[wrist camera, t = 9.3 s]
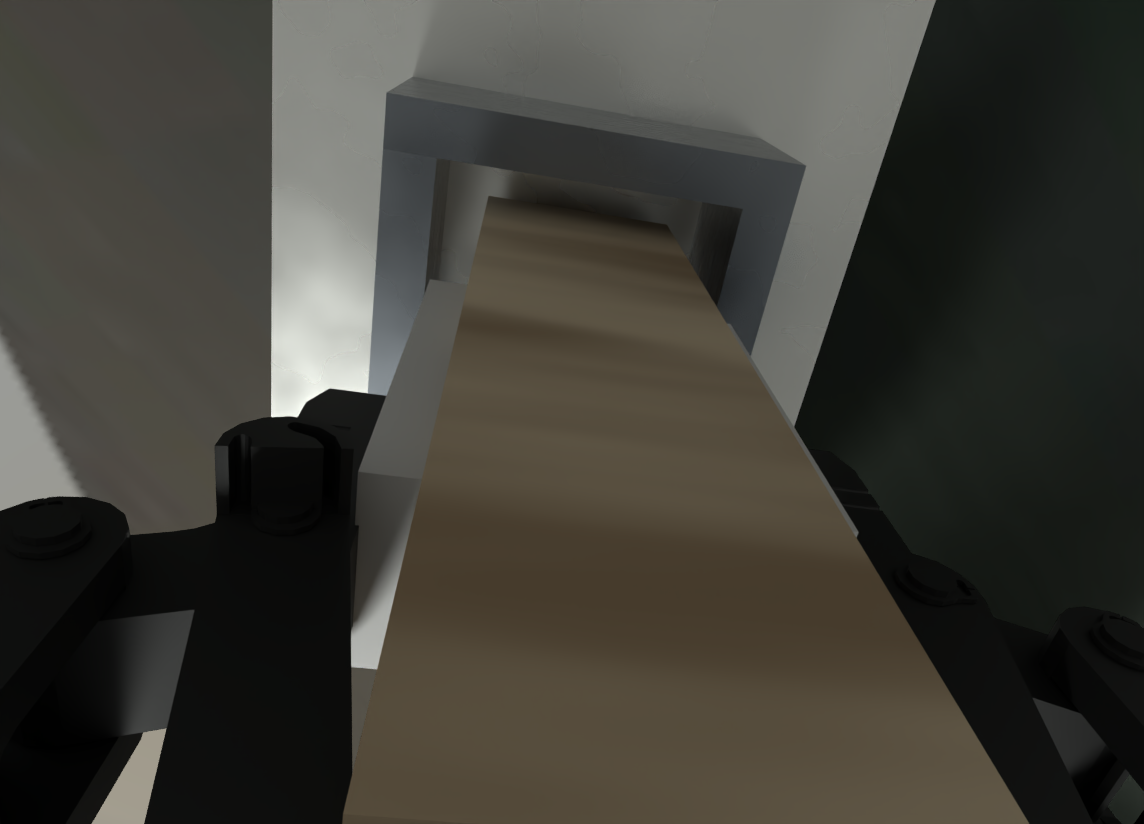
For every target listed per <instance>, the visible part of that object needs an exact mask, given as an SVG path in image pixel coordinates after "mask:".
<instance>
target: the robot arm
mask: <svg viewBox="0 0 1144 824" xmlns="http://www.w3.org/2000/svg"><path fill="white" fill-rule="evenodd" d="M466 290H467V285H465V284H459V283H452V282H445V281H439V280H432V279H430V281H429V284H428V286H427V289H426V292H425V294H424V297H423V300H422V302H421V305H420V308H419V310H418V313H417V316H416V318H415V321H414V324H413V326H412V329H411V332H410V334H409V337H408V340H407V342H406V345H405V348H404V350H403V353H402V356H401V358H400V361H399V364H398V366H397V369H396V372H395V374H394V377H393V380H392V382H391V385H390V388H389V390H388V393H387V396H385V395H377V394H370V393H362V392H355V391H347V390H339V389H332V388H329V389H327V390H326V391H324V392H322V393H321V394H319V395H317V396H316V397H314V398H312V399H310V400H309V401H307V402H306V403H305V405H304V407H303V408H302V410H301V412H300V414H299V415H298V417H292V416H285V417H267V418H261V419H257V420H253V421H249V422H245V423H241V424H239V425H237V426H236V427H234V428H232V429H230V430H228V431H227V432H225V433H223V435H222V436H221V437H220V439H219V440H218V442H217V443H216V445H215V471H216V502H217V517H216V521H215V523H212V524H209V525H205V526H202V527H198V528H194V529H188V530H181V531H174V532H162V533H150V534H139V535H130V532H129V526H128V523H127V520H126V516H125V514H124V513H123V512H121V511H120V510H118V509H117V508H116V507H114V506H113V505H112V504H110V503H107V502H103V501H99V500H95V499H92V498H88V497H49V498H46V499H44V498H42V499H37V500H32V501H28V502H25V503H22V504H19V505H16V506H14V507H11V508H7V509H5V510H2V511H0V824H91V823H92V822H93V820H94V818H95V817H96V815H97V813H98V812H99V810H100V808H101V807H102V805H103V803H104V801H105V799H106V798H107V796H108V795H109V793H110V791H111V789H112V788H113V786H114V784H115V783H116V781H117V779H118V777H119V776H120V774H121V772H122V771H123V769H124V767H125V765H126V764H127V762H128V760H129V758H130V757H131V755H132V753H133V752H134V750H135V748H136V746H137V745H138V743H139V741H140V740H141V737H142V734H143V732H147V731H153V730H159V729H165V728H167V729H166V734H165V738H164V742H163V746H162V750H161V755H160V759H159V763H158V768H157V772H156V776H155V780H154V784H153V789H152V793H151V797H150V802H149V806H148V810H147V815H146V818H145V823H144V824H342V822H343V812H344V808H345V804H346V799H347V795H348V791H349V787H350V782H351V778H352V692H351V667H358V668H369V669H377V668H378V663H379V659H380V655H381V651H382V646H383V642H384V638H385V634H386V629H387V625H388V621H389V617H390V612H391V608H392V604H393V600H394V595H395V591H396V587H397V583H398V578H399V574H400V570H401V566H402V561H403V557H404V553H405V549H406V544H407V540H408V536H409V532H410V527H411V523H412V519H413V515H414V510H415V506H416V502H417V498H418V493H419V489H420V485H421V481H422V476H423V472H424V468H425V464H426V459H427V455H428V451H429V447H430V442H431V438H432V434H433V430H434V426H435V421H436V417H437V413H438V409H439V404H440V400H441V396H442V392H443V387H444V383H445V379H446V375H447V370H448V366H449V362H450V358H451V353H452V349H453V345H454V341H455V336H456V332H457V328H458V324H459V319H460V315H461V311H462V307H463V302H464V298H465V294H466ZM727 325H728V326H729V328H730V330H731V331H732V333H733V335H734V336H735V338H736V340H737V341H738V343H739V345H740V346H741V348H742V350H743V351H744V353H745V355H746V356H747V358H748V360H749V361H750V363H751V364H752V366H753V368H754V369H755V371H756V373H757V374H758V376H759V378H760V379H761V381H762V383H763V384H764V386H765V388H766V389H767V391H768V393H769V394H770V396H771V398H772V399H773V401H774V403H775V404H776V406H777V407H778V409H779V411H780V412H781V414H782V416H783V417H784V419H785V421H786V422H787V424H788V426H789V427H790V429H791V431H792V432H793V434H794V436H795V437H796V439H797V441H798V442H799V444H800V445H801V447H802V449H803V450H804V452H805V454H806V455H807V457H808V459H809V460H810V462H811V464H812V465H813V467H814V469H815V470H816V472H817V474H818V475H819V477H820V479H821V480H822V482H823V484H824V485H825V487H826V488H827V490H828V492H829V493H830V495H831V497H832V498H833V500H834V502H835V503H836V505H837V507H838V508H839V510H840V512H841V513H842V515H843V517H844V518H845V520H846V522H847V523H848V525H849V527H850V528H851V530H852V531H853V533H854V535H855V536H856V538H857V540H858V541H859V543H860V545H861V546H862V548H863V550H864V551H865V553H866V555H867V556H868V558H869V560H870V561H871V563H872V565H873V566H874V568H875V569H876V571H877V573H878V574H879V576H880V578H881V579H882V581H883V583H884V584H885V586H886V588H887V589H888V591H889V593H890V594H891V596H892V598H893V599H894V601H895V603H896V604H897V606H898V608H899V609H900V611H901V612H902V614H903V616H904V617H905V619H906V621H907V622H908V624H909V626H910V627H911V629H912V631H913V632H914V634H915V636H916V637H917V639H918V641H919V642H920V644H921V646H922V647H923V649H924V650H925V652H926V654H927V655H928V657H929V659H930V660H931V662H932V664H933V665H934V667H935V669H936V670H937V672H938V674H939V675H940V677H941V679H942V680H943V682H944V684H945V685H946V687H947V689H948V690H949V692H950V693H951V695H952V697H953V698H954V700H955V702H956V703H957V705H958V707H959V708H960V710H961V712H962V713H963V715H964V717H965V718H966V720H967V722H968V723H969V725H970V727H971V728H972V730H973V732H974V733H975V735H976V736H977V738H978V740H979V741H980V743H981V745H982V746H983V748H984V750H985V751H986V753H987V755H988V756H989V758H990V760H991V761H992V763H993V765H994V766H995V768H996V770H997V771H998V773H999V774H1000V776H1001V778H1002V779H1003V781H1004V783H1005V784H1006V786H1007V788H1008V789H1009V791H1010V793H1011V794H1012V796H1013V798H1014V799H1015V801H1016V803H1017V804H1018V806H1019V808H1020V809H1021V811H1022V813H1023V814H1024V816H1025V817H1026V819H1027V821H1028V822H1029V824H1121V823H1120V822H1119V820H1118V819H1117V818H1116V817H1115V816H1114V815H1113V814H1112V812H1111V811H1110V810H1109V808H1108V807H1107V806H1108V805H1109V803H1110V802H1111V800H1112V799H1113V797H1114V796H1115V795H1116V793H1117V792H1118V790H1119V789H1120V787H1121V786H1122V784H1123V783H1124V782H1125V780H1126V779H1127V777H1128V776H1129V774H1130V775H1131V776H1132V777H1133V778H1134V780H1135V781H1136V782H1137V783H1138V785H1139V786H1140V787H1141V788H1142V790H1143V791H1144V628H1142V627H1141V626H1140V625H1139V624H1138V623H1137V622H1135V621H1133V620H1131V619H1128V618H1126V617H1124V616H1123V617H1120V615H1119V614H1116V613H1112V612H1109V611H1102V610H1098V609H1093V608H1088V607H1076V608H1068V609H1067V610H1065V611H1064V612H1063V613H1062V614H1060V615H1059V617H1058V619H1057V621H1056V622H1055V624H1054V626H1053V628H1052V629H1051V631H1050V633H1049V635H1047V634H1044V633H1040V632H1037V631H1034V630H1031V629H1028V628H1025V627H1021V626H1018V625H1015V624H1012V623H1009V622H1006V621H1002V620H999V619H996V618H994V617H993V616H992V614H991V612H990V610H989V607H988V605H987V603H986V601H985V600H984V598H983V597H982V596H981V594H980V593H979V592H978V590H977V589H976V588H975V586H973V585H972V584H971V583H970V582H969V581H967V580H966V579H965V578H963V577H962V576H961V575H960V574H958V573H957V572H955V571H953V570H951V569H950V568H948V567H946V566H944V565H942V564H940V563H938V562H936V561H933V560H930V559H927V558H924V557H921V556H918V555H915V554H912V553H911V552H910V550H909V549H908V548H907V546H906V545H905V543H904V542H903V540H902V539H901V537H900V536H899V534H898V533H897V532H896V530H895V529H894V527H893V526H892V524H891V523H890V521H889V520H888V518H887V517H886V516H885V514H884V513H883V511H879V505H878V504H877V502H876V501H875V500H874V498H873V497H872V495H871V494H868V489H867V488H866V486H865V485H864V484H863V482H862V481H861V479H860V478H859V476H858V475H857V473H856V472H855V471H854V470H853V469H852V468H851V467H849V466H848V465H847V464H845V463H844V462H843V461H841V460H840V459H839V458H838V457H836V456H835V455H834V454H832V453H831V452H828V451H820V450H813V449H807V447H806V446H805V444H804V443H803V441H802V439H801V438H800V436H799V434H798V433H797V431H796V430H795V428H794V426H793V425H792V423H791V421H790V420H789V418H788V417H787V415H786V413H785V412H784V410H783V408H782V407H781V405H780V404H779V402H778V400H777V399H776V397H775V395H774V394H773V392H772V391H771V389H770V387H769V386H768V384H767V382H766V381H765V379H764V378H763V376H762V374H761V373H760V371H759V369H758V368H757V366H756V365H755V363H754V361H753V360H752V358H751V356H750V355H749V353H748V352H747V350H746V348H745V347H744V345H743V343H742V342H741V340H740V339H739V337H738V335H737V334H736V332H735V330H734V329H733V327H732V326H731V324H727ZM1134 824H1144V811H1143V812H1142V813H1141V815H1140V816H1139V818H1138V819H1137V820H1136V822H1135V823H1134Z"/></svg>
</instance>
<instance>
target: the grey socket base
mask: <svg viewBox="0 0 1144 824" xmlns="http://www.w3.org/2000/svg"><path fill="white" fill-rule="evenodd" d="M935 1H936V0H273V61H272V370H271V417H285V416H292V417H298V415H299V414H300V412H301V410H302V408H303V407H304V405H305V403H306V402H307V401H309V400H310V399H312V398H314V397H316V396H317V395H319V394H321V393H322V392H324V391H326V390H327V389H329V388H332V389H339V390H347V391H355V392H362V393H370V394H377V395H385V396H387V393H388V390H389V388H390V385H391V382H392V380H393V377H394V374H395V372H396V369H397V366H398V364H399V361H400V358H401V356H402V353H403V350H404V348H405V345H406V342H407V340H408V337H409V334H410V332H411V329H412V326H413V324H414V321H415V318H416V316H417V313H418V310H419V308H420V305H421V302H422V300H423V297H424V294H425V292H426V289H427V286H428V284H429V281H430V279H432V280H439V281H445V282H452V283H459V284H465V285H468V281H469V277H470V273H471V268H472V264H473V260H474V256H475V251H476V247H477V243H478V239H479V234H480V230H481V226H482V222H483V217H484V213H485V209H486V205H487V200H488V196H494V197H500V198H506V199H512V200H518V201H525V202H531V203H537V204H543V205H549V206H555V207H562V208H568V209H574V210H580V211H586V212H592V213H599V214H605V215H611V216H617V217H623V218H629V219H636V220H642V221H648V222H654V223H660V224H666V225H667V226H668V227H669V229H670V231H671V232H672V234H673V236H674V237H675V239H676V240H677V242H678V244H679V245H680V247H681V249H682V250H683V252H684V254H685V255H686V257H687V259H688V260H689V262H690V264H691V265H692V267H693V269H694V270H695V272H696V274H697V275H698V277H699V279H700V280H701V282H702V283H703V285H704V287H705V288H706V290H707V292H708V293H709V295H710V297H711V298H712V300H713V302H714V303H715V305H716V307H717V308H718V310H719V312H720V313H721V315H722V317H723V318H724V320H725V322H726V323H727V324H731V326H732V327H733V329H734V330H735V332H736V334H737V335H738V337H739V339H740V340H741V342H742V343H743V345H744V347H745V348H746V350H747V352H748V353H749V355H750V356H751V358H752V360H753V361H754V363H755V365H756V366H757V368H758V369H759V371H760V373H761V374H762V376H763V378H764V379H765V381H766V382H767V384H768V386H769V387H770V389H771V391H772V392H773V394H774V395H775V397H776V399H777V400H778V402H779V404H780V405H781V407H782V408H783V410H784V412H785V413H786V415H787V417H788V418H789V420H790V421H791V423H792V425H793V426H795V422H796V419H797V416H798V413H799V410H800V407H801V404H802V401H803V398H804V395H805V392H806V389H807V386H808V383H809V380H810V377H811V374H812V371H813V368H814V365H815V362H816V359H817V356H818V353H819V350H820V347H821V344H822V341H823V338H824V335H825V332H826V329H827V326H828V323H829V320H830V317H831V314H832V311H833V308H834V305H835V302H836V299H837V296H838V293H839V290H840V287H841V284H842V281H843V278H844V275H845V272H846V269H847V266H848V263H849V260H850V257H851V254H852V251H853V248H854V245H855V242H856V239H857V236H858V233H859V230H860V227H861V224H862V221H863V218H864V215H865V212H866V209H867V206H868V203H869V200H870V197H871V194H872V191H873V188H874V185H875V182H876V179H877V176H878V173H879V170H880V167H881V163H882V160H883V157H884V154H885V151H886V148H887V145H888V142H889V139H890V136H891V133H892V130H893V127H894V124H895V121H896V118H897V115H898V112H899V109H900V106H901V103H902V100H903V97H904V94H905V91H906V88H907V85H908V82H909V79H910V76H911V73H912V70H913V67H914V64H915V61H916V58H917V55H918V52H919V49H920V46H921V43H922V40H923V37H924V34H925V31H926V28H927V25H928V22H929V19H930V16H931V13H932V10H933V7H934V4H935Z"/></svg>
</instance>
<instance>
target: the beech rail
mask: <svg viewBox="0 0 1144 824" xmlns="http://www.w3.org/2000/svg"><path fill="white" fill-rule="evenodd" d="M342 824H1029V822H1028V821H1027V819H1026V817H1025V816H1024V814H1023V813H1022V811H1021V809H1020V808H1019V806H1018V804H1017V803H1016V801H1015V799H1014V798H1013V796H1012V794H1011V793H1010V791H1009V789H1008V788H1007V786H1006V784H1005V783H1004V781H1003V779H1002V778H1001V776H1000V774H999V773H998V771H997V770H996V768H995V766H994V765H993V763H992V761H991V760H990V758H989V756H988V755H987V753H986V751H985V750H984V748H983V746H982V745H981V743H980V741H979V740H978V738H977V736H976V735H975V733H974V732H973V730H972V728H971V727H970V725H969V723H968V722H967V720H966V718H965V717H964V715H963V713H962V712H961V710H960V708H959V707H958V705H957V703H956V702H955V700H954V698H953V697H952V695H951V693H950V692H949V690H948V689H947V687H946V685H945V684H944V682H943V680H942V679H941V677H940V675H939V674H938V672H937V670H936V669H935V667H934V665H933V664H932V662H931V660H930V659H929V657H928V655H927V654H926V652H925V650H924V649H923V647H922V646H921V644H920V642H919V641H918V639H917V637H916V636H915V634H914V632H913V631H912V629H911V627H910V626H909V624H908V622H907V621H906V619H905V617H904V616H903V614H902V612H901V611H900V609H899V608H898V606H897V604H896V603H895V601H894V599H893V598H892V596H891V594H890V593H889V591H888V589H887V588H886V586H885V584H884V583H883V581H882V579H881V578H880V576H879V574H878V573H877V571H876V569H875V568H874V566H873V565H872V563H871V561H870V560H869V558H868V556H867V555H866V553H865V551H864V550H863V548H862V546H861V545H860V543H859V541H858V540H857V538H856V536H855V535H854V533H853V531H852V530H851V528H850V527H849V525H848V523H847V522H846V520H845V518H844V517H843V515H842V513H841V512H840V510H839V508H838V507H837V505H836V503H835V502H834V500H833V498H832V497H831V495H830V493H829V492H828V490H827V488H826V487H825V485H824V484H823V482H822V480H821V479H820V477H819V475H818V474H817V472H816V470H815V469H814V467H813V465H812V464H811V462H810V460H809V459H808V457H807V455H806V454H805V452H804V450H803V449H802V447H801V445H800V444H799V442H798V441H797V439H796V437H795V436H794V434H793V432H792V431H791V429H790V427H789V426H788V424H787V422H786V421H785V419H784V417H783V416H782V414H781V412H780V411H779V409H778V407H777V406H776V404H775V403H774V401H773V399H772V398H771V396H770V394H769V393H768V391H767V389H766V388H765V386H764V384H763V383H762V381H761V379H760V378H759V376H758V374H757V373H756V371H755V369H754V368H753V366H752V364H751V363H750V361H749V360H748V358H747V356H746V355H745V353H744V351H743V350H742V348H741V346H740V345H739V343H738V341H737V340H736V338H735V336H734V335H733V333H732V331H731V330H730V328H729V326H728V325H727V323H726V322H725V320H724V318H723V317H722V315H721V313H720V312H719V310H718V308H717V307H716V305H715V303H714V302H713V300H712V298H711V297H710V295H709V293H708V292H707V290H706V288H705V287H704V285H703V283H702V282H701V280H700V279H699V277H698V275H697V274H696V272H695V270H694V269H693V267H692V265H691V264H690V262H689V260H688V259H687V257H686V255H685V254H684V252H683V250H682V249H681V247H680V245H679V244H678V242H677V240H676V239H675V237H674V236H673V234H672V232H671V231H670V229H669V227H668V226H667V225H666V224H660V223H654V222H648V221H642V220H636V219H629V218H623V217H617V216H611V215H605V214H599V213H592V212H586V211H580V210H574V209H568V208H562V207H555V206H549V205H543V204H537V203H531V202H525V201H518V200H512V199H506V198H500V197H494V196H488V200H487V205H486V209H485V213H484V217H483V222H482V226H481V230H480V234H479V239H478V243H477V247H476V251H475V256H474V260H473V264H472V268H471V273H470V277H469V281H468V285H467V290H466V294H465V298H464V302H463V307H462V311H461V315H460V319H459V324H458V328H457V332H456V336H455V341H454V345H453V349H452V353H451V358H450V362H449V366H448V370H447V375H446V379H445V383H444V387H443V392H442V396H441V400H440V404H439V409H438V413H437V417H436V421H435V426H434V430H433V434H432V438H431V442H430V447H429V451H428V455H427V459H426V464H425V468H424V472H423V476H422V481H421V485H420V489H419V493H418V498H417V502H416V506H415V510H414V515H413V519H412V523H411V527H410V532H409V536H408V540H407V544H406V549H405V553H404V557H403V561H402V566H401V570H400V574H399V578H398V583H397V587H396V591H395V595H394V600H393V604H392V608H391V612H390V617H389V621H388V625H387V629H386V634H385V638H384V642H383V646H382V651H381V655H380V659H379V663H378V668H377V672H376V676H375V680H374V685H373V689H372V693H371V697H370V702H369V706H368V710H367V714H366V719H365V723H364V727H363V731H362V736H361V740H360V744H359V748H358V753H357V757H356V761H355V765H354V770H353V774H352V778H351V782H350V787H349V791H348V795H347V799H346V804H345V808H344V812H343V822H342Z"/></svg>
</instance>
